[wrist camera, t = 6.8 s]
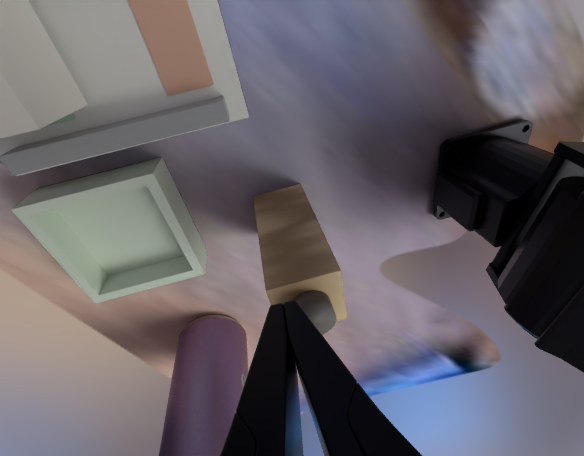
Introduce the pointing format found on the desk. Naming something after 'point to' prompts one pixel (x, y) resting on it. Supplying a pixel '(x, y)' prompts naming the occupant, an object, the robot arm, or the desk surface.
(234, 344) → the beverage can
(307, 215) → the tan rectangular block
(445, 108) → the desk surface
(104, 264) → the holder
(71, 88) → the breaker
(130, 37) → the panel
